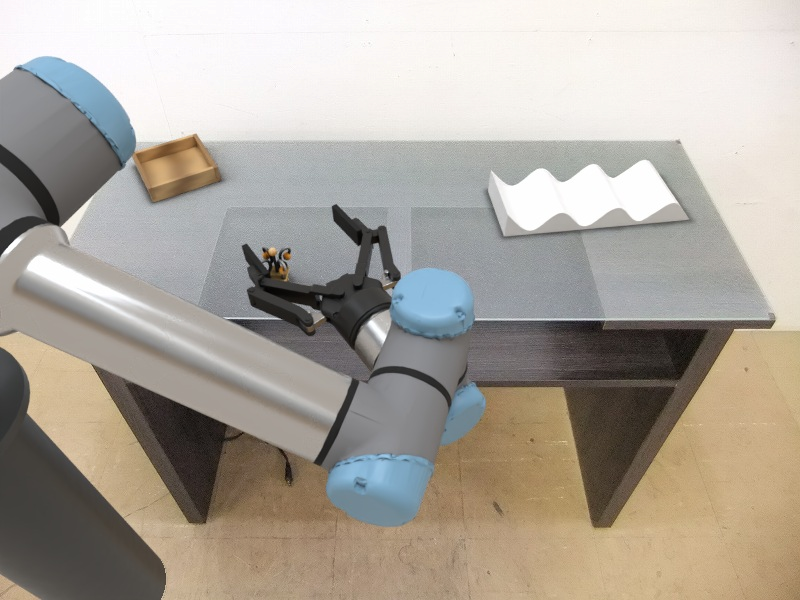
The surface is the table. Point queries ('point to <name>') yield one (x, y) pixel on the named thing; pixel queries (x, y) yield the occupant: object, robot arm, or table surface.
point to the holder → (176, 167)
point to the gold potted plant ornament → (277, 270)
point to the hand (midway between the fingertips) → (291, 231)
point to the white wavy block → (583, 200)
